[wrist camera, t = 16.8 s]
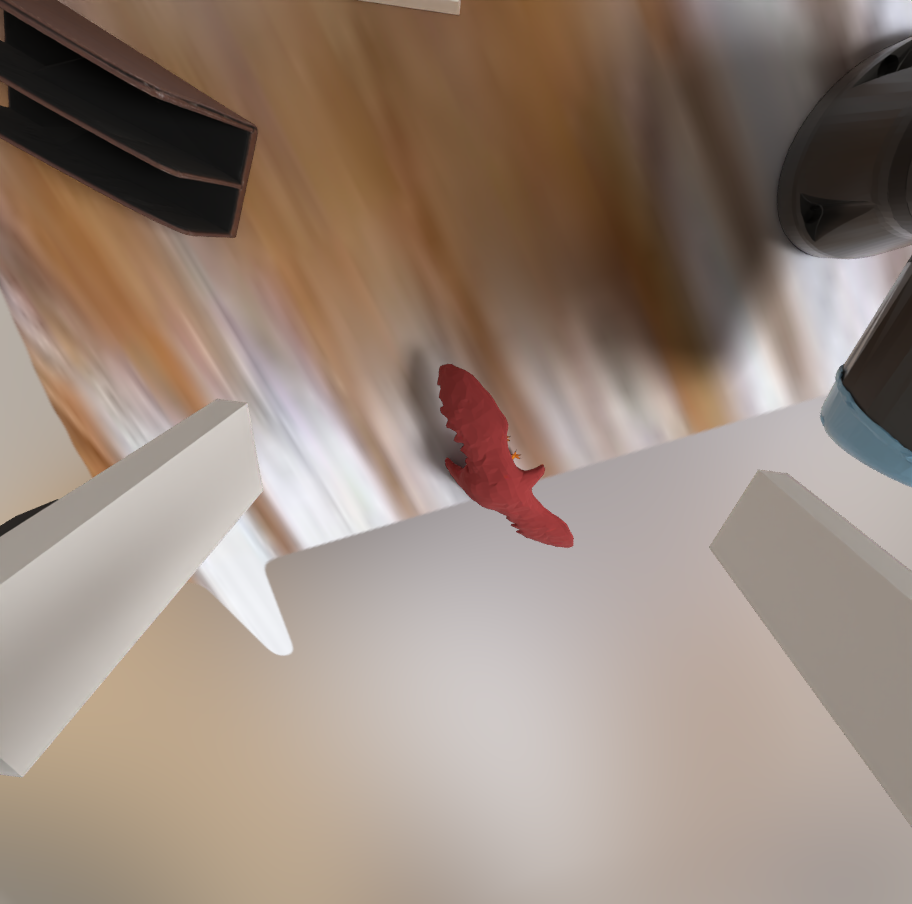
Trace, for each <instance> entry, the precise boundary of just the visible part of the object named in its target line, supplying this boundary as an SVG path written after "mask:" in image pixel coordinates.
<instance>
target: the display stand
mask: <svg viewBox="0 0 912 904" xmlns="http://www.w3.org/2000/svg"><path fill="white" fill-rule="evenodd" d="M360 1H367V2H374V3H381V4H387V5H394V6H401V7H407V8H414V9H421V10H428V11H434V12H441V13H448V14H454V15H459V13H460V1H461V0H360Z"/></svg>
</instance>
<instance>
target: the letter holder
mask: <svg viewBox="0 0 912 904" xmlns="http://www.w3.org/2000/svg"><path fill="white" fill-rule="evenodd" d="M0 8H2V9H4V28H5V42H3V41H1V40H0V81H1V82H3V83H5V84H7V85H8V97H9V107H8V108H7V107H3V106H0V138H1V139H3V140H5V141H7V142H8V143H10V144H12V145H13V146H15V147H17V148H19V149H21V150H23V151H25V152H26V153H28V154H30V155H32V156H34V157H36V158H37V159H39V160H41V161H43V162H45V163H46V164H48V165H50V166H52V167H54V168H56V169H57V170H59V171H61V172H63V173H65V174H67V175H69V176H70V177H72V178H74V179H76V180H78V181H79V182H81V183H83V184H85V185H87V186H89V187H91V188H92V189H94V190H96V191H98V192H100V193H102V194H104V195H106V196H107V197H109V198H111V199H113V200H115V201H117V202H119V203H120V204H122V205H124V206H126V207H128V208H130V209H132V210H134V211H136V212H138V213H140V214H142V215H144V216H146V217H148V218H150V219H152V220H154V221H156V222H158V223H160V224H162V225H165V226H167V227H169V228H171V229H173V230H175V231H178V232H180V233H183V234H186V235H191V236H206V237H230V238H235V237H236V232H237V228H238V223H239V219H240V214H241V209H242V205H243V200H244V196H245V191H246V186H247V181H248V177H249V172H250V168H251V163H252V159H253V154H254V149H255V144H256V139H257V127H256V126H255V125H254V124H252V123H251V122H249V121H248V120H246V119H244V118H242V117H241V116H239V115H237V114H236V113H234V112H233V111H231V110H229V109H228V108H226V107H225V106H223V105H221V104H220V103H218V102H217V101H215V100H214V99H212V98H210V97H209V96H207V95H206V94H204V93H202V92H201V91H199V90H198V89H196V88H195V87H193V86H191V85H190V84H188V83H187V82H185V81H184V80H182V79H180V78H179V77H177V76H176V75H174V74H173V73H171V72H169V71H168V70H166V69H165V68H163V67H162V66H160V65H158V64H157V63H155V62H154V61H152V60H151V59H149V58H147V57H146V56H144V55H143V54H141V53H139V52H138V51H136V50H135V49H133V48H131V47H130V46H128V45H127V44H125V43H123V42H122V41H120V40H119V39H117V38H116V37H114V36H112V35H111V34H109V33H108V32H106V31H105V30H103V29H101V28H100V27H98V26H97V25H95V24H93V23H92V22H90V21H89V20H87V19H86V18H84V17H82V16H81V15H79V14H78V13H76V12H75V11H73V10H71V9H70V8H68V7H67V6H65V5H64V4H62V3H60V2H59V1H57V0H0Z"/></svg>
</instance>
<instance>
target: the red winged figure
mask: <svg viewBox="0 0 912 904" xmlns="http://www.w3.org/2000/svg"><path fill="white" fill-rule="evenodd" d="M437 384H438V385H440V388H441V389H440V393H439V398H440V399H441V401H442V403H443V405H444V406H442V407H441V408H440V411H441V413H442V414H443V415H444V416H445V417H446V418H447V419H448V422H447V424H446V427H447V428H450V429H452V430H453V431H455V432H456V433H457V434H456V436H455V438H454V441H455V442H457V443H463V444H464V446H462V448H461V450H460V451H461V452H463V453H464V454H465V455H466V456H467V457H468V458H466V460H465V462H466V464H467V465H466V466H465V467H464V468H462V467H460V466H458V465H456V464H455V463H453V462H452V461H451V460H450V459H449V458H446V459H445V465H446V467H447V469H448V470H449V472H450V474H451V475H452V477H453V478H454V479H455V481H456V482H457V484H458V485H459V486H460V487H461V488H462V489H463V490H464V491H465V492H466V494H467V495H468V496H469V497H470V498H471V499H472V500H474V501H476V502H477V503H478V504H479V505H481V506H482V507H485V508H487V509H491V510H495V511H498V512H499V513H501V514H503V515H506V516H507V517H506V519H508V520H509V521H511V522H513V523H515V524H511V526H513V527H515V528H517V529H519V530H518V531H516V532H517V533H520V534H522V535H523V536H525V537H526V538H530V539H533V540H535V541H539V542H541V543H544V544H547V545H553V546H555V547H565V548H569V547H572V546H573V539H574V538H573V535H572V534H571V532H570V530H569V528H568V526H567V524H566V523H565V522H564V521H562V520H561V519H560V518H559V517H557V516H556V515H554V514H552V513H551V512H550V511H548V510H547V509H546V508H544V507H543V506H542V504H541V503H540V502H539V501H538V500H537V499H536V498H535V497H534V495H533V493H532V487H533V486H534V485H535V484H536V483H537V482H538V480H539V479H540V478H541V477H542V476H543V474H544V471H545V468H544V465H540V466H538V467H537V468H534V469H531V470H526V471H524V470H521V469H520V468H518V467H516V465H515V463H514V461H513V459H514V458H518V459H520V458H519V457H518V456H520V455H518V454H516V451H515V453H514V455H513V454H510V451H509V449H508V443H507V441H510V440H509V439H507V438H509V437H508V436H507V431H508V422H507V420H506V418H505V416H504V415H503V414H502V412H501V411H500V410H499V408H498V406H497V404H496V403H495V401H494V399H493V398H492V396H491V395H490V394H489V392H487V391H486V390H485V389H484V388H483V386H482V385H481V384H480V382H479V381H478V380H477V379H476V378H475V377H474V376H473V375H472V374H470V373H469V372H467V371H466V370H463V369H461V368H458V367H456V366H454V365H452V364H446V365H442V366H440V368H439V377H438V382H437ZM516 450H517V449H516ZM511 455H512V456H511Z"/></svg>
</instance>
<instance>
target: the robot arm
mask: <svg viewBox="0 0 912 904" xmlns="http://www.w3.org/2000/svg"><path fill="white" fill-rule="evenodd" d="M777 203H778V214H779V219H780V222H781V226H782V228H783V230H784V232H785V234H786V236H787V237H788V239H789V240H790V241H791V242H792V243H793V244H794V245H795V246H796V247H797V248H799V249H800V250H802V251H803V252H805V253H808V254H810V255H813V256H817V257H823V258H836V259H857V258H865V257H870V256H875V255H878V254H882V253H885V252H889V251H892V250H895V249H899V248H902V247H906V246H909V245H912V37H910V38H908V39H906V40H903V41H901V42H899V43H897V44H894V45H892V46H890V47H888V48H885V49H883V50H881V51H880V52H878V53H876V54H874V55H873V56H871V57H869V58H868V59H866V60H865V61H863V62H862V63H860V64H859V65H857V66H856V67H855V68H853V69H852V70H851V71H850V72H849V73H847V74H846V75H845V76H844V77H843V78H842V79H840V80H839V81H838V82H837V83H836V84H835V85H834V86H833V87H832V88H831V89H830V90H829V91H828V92H827V94H826V95H825V96H824V97H823V98H822V99H821V100H820V102H819V103H818V104H817V105H816V106H815V108H814V109H813V110H812V112H811V113H810V114H809V116H808V117H807V119H806V120H805V122H804V123H803V125H802V127H801V128H800V130H799V132H798V134H797V135H796V137H795V139H794V141H793V143H792V145H791V147H790V150H789V152H788V154H787V157H786V160H785V162H784V165H783V169H782V172H781V176H780V181H779V187H778V200H777ZM835 379H836V381H835V383H834V385H833V387H832V389H831V391H830V393H829V394H828V396H827V398H826V400H825V402H824V404H823V406H822V408H821V413H820V414H821V415H820V417H821V421H822V424H823V426H824V428H825V431H826V433H827V434H828V435H829V437H830V438H831V439H832V440H833V441H834V442H835V443H836V444H837V445H838V446H840V447H841V448H842V449H843V450H844V451H846V452H847V453H848V454H850V455H851V456H853V457H854V458H856V459H857V460H859V461H860V462H862V463H864V464H865V465H867V466H869V467H870V468H872V469H874V470H876V471H878V472H880V473H881V474H883V475H886V476H887V477H889V478H891V479H894V480H896V481H898V482H900V483H902V484H905V485H907V486H909V487H912V256H911V258H910V259H909V261H908V262H907V264H906V265H905V267H904V269H903V270H902V272H901V273H900V275H899V277H898V278H897V280H896V282H895V283H894V285H893V286H892V288H891V290H890V291H889V293H888V294H887V296H886V298H885V299H884V301H883V303H882V304H881V306H880V307H879V309H878V311H877V312H876V314H875V316H874V317H873V319H872V320H871V322H870V324H869V325H868V327H867V328H866V330H865V332H864V333H863V335H862V337H861V338H860V340H859V341H858V343H857V345H856V346H855V348H854V349H853V351H852V353H851V354H850V356H849V358H848V359H847V361H846V362H845V364H843V365H842V366H840V368H839V369H838V371H837V373H836V377H835ZM262 491H263V486H262V481H261V475H260V469H259V464H258V458H257V453H256V447H255V442H254V436H253V431H252V425H251V420H250V414H249V409H248V403H245V402H237V401H229V400H222V399H216V400H215V401H213V402H212V403H210V404H208V405H207V406H205V407H204V408H202V409H201V410H199V411H197V412H196V413H194V414H193V415H191V416H190V417H188V418H186V419H185V420H183V421H182V422H180V423H178V424H177V425H175V426H174V427H172V428H171V429H169V430H167V431H166V432H164V433H163V434H161V435H160V436H158V437H156V438H155V439H153V440H152V441H150V442H149V443H147V444H145V445H144V446H142V447H141V448H139V449H138V450H136V451H134V452H133V453H131V454H130V455H128V456H127V457H125V458H123V459H122V460H120V461H119V462H117V463H116V464H114V465H112V466H111V467H109V468H108V469H106V470H105V471H103V472H101V473H100V474H98V475H97V476H95V477H94V478H92V479H90V480H89V481H87V482H86V483H84V484H83V485H81V486H79V487H78V488H76V489H75V490H73V491H72V492H70V493H68V494H67V495H65V496H64V497H62V498H61V499H59V500H58V499H57V500H54V501H52V502H49V503H47V504H45V505H42V506H40V507H37V508H35V509H32V510H30V511H27V512H25V513H23V514H20V515H18V516H15V517H14V518H12V519H11V520H9V521H7V522H6V523H4V524H2V525H1V526H0V775H7V776H15V777H23V776H24V775H25V774H26V773H27V772H28V770H29V769H30V768H31V767H32V766H33V764H34V763H35V762H36V761H37V760H38V758H39V757H40V756H41V755H42V754H43V752H44V751H45V750H46V749H47V748H48V746H49V745H50V744H51V743H52V742H53V741H54V739H55V738H56V737H57V736H58V734H59V733H60V732H61V731H62V730H63V729H64V727H65V726H66V725H67V724H68V723H69V721H70V720H71V719H72V718H73V717H74V716H75V714H76V713H77V712H78V711H79V710H80V708H81V707H82V706H83V705H84V704H85V702H86V701H87V700H88V699H89V698H90V696H91V695H92V694H93V693H94V692H95V690H96V689H97V688H98V687H99V685H100V684H101V683H102V682H103V681H104V680H105V679H106V677H107V676H108V675H109V674H110V672H111V671H112V670H113V669H114V668H115V667H116V665H117V664H118V663H119V662H120V661H121V659H122V658H123V657H124V656H125V655H126V654H127V652H128V651H129V650H130V649H131V648H132V646H133V645H134V644H135V643H136V641H137V640H138V639H139V638H140V637H141V636H142V634H143V633H144V632H145V631H146V630H147V628H148V627H149V626H150V625H151V624H152V622H153V621H154V620H155V619H156V618H157V616H158V615H159V614H160V613H161V612H162V611H163V609H164V608H165V607H166V606H167V605H168V603H169V602H170V601H171V600H172V599H173V597H174V596H175V595H176V594H177V593H178V591H179V590H180V589H181V588H182V587H183V586H184V584H185V583H186V582H187V581H188V580H189V578H190V577H191V576H192V575H193V574H194V572H195V571H196V570H197V569H198V568H199V566H200V565H201V564H202V563H203V562H204V560H205V559H206V558H207V557H208V556H209V555H210V553H211V552H212V551H213V550H214V549H215V547H216V546H217V545H218V544H219V543H220V541H221V540H222V539H223V538H224V537H225V535H226V534H227V533H228V532H229V531H230V529H231V528H232V527H233V526H234V525H235V524H236V522H237V521H238V520H239V519H240V518H241V516H242V515H243V514H244V513H245V512H246V510H247V509H248V508H249V507H250V506H251V504H252V503H253V502H254V501H255V500H256V498H257V497H258V496H259V495H260V494H261V493H262ZM709 548H710V550H711V551H712V552H713V554H714V555H715V556H716V558H717V559H718V561H719V562H720V563H721V565H722V566H723V568H724V569H725V570H726V572H727V573H728V574H729V576H730V577H731V579H732V580H733V581H734V583H735V584H736V585H737V587H738V588H739V590H740V591H741V592H742V594H743V595H744V597H745V598H746V599H747V601H748V602H749V603H750V605H751V606H752V608H753V609H754V610H755V612H756V613H757V614H758V616H759V617H760V618H761V620H762V621H763V623H764V624H765V626H766V627H767V628H768V630H769V631H770V632H771V634H772V635H773V636H774V638H775V639H776V641H777V642H778V643H779V645H780V646H781V648H782V649H783V650H784V651H785V653H786V654H787V656H788V657H789V659H790V660H791V661H792V663H793V664H794V666H795V667H796V668H797V670H798V671H799V672H800V674H801V675H802V676H803V678H804V679H805V681H806V682H807V683H808V685H809V686H810V688H811V689H812V690H813V692H814V693H815V695H816V696H817V697H818V698H819V700H820V701H821V703H822V704H823V706H824V707H825V708H826V710H827V711H828V712H829V714H830V715H831V717H832V718H833V719H834V721H835V722H836V723H837V725H838V726H839V728H840V729H841V730H842V732H843V733H844V735H845V736H846V737H847V739H848V740H849V741H850V743H851V744H852V746H853V747H854V748H855V750H856V751H857V752H858V754H859V755H860V757H861V758H862V759H863V761H864V762H865V764H866V765H867V766H868V767H869V769H870V770H871V771H872V773H873V775H874V776H875V777H876V779H877V780H878V781H879V783H880V784H881V786H882V787H883V788H884V790H885V791H886V793H887V794H888V795H889V797H890V798H891V799H892V801H893V802H894V804H895V805H896V806H897V808H898V809H899V810H900V812H901V813H902V815H903V816H904V817H905V819H906V820H907V821H908V823H909V824H910V826H911V827H912V571H911V570H910V569H909V568H907V567H906V566H905V565H903V564H902V563H901V562H900V561H898V560H897V559H896V558H895V557H893V556H892V555H891V554H889V553H888V552H887V551H886V550H884V549H883V548H881V546H879V545H878V544H877V543H876V542H874V541H873V540H872V539H870V538H869V537H868V536H867V535H865V534H864V533H863V532H862V531H860V530H859V529H858V528H856V527H855V526H854V525H853V524H851V523H850V522H849V521H848V520H846V519H845V518H844V517H842V516H841V515H840V514H839V513H837V512H836V511H835V510H834V509H832V508H831V507H830V506H828V505H827V504H826V503H825V502H823V501H822V500H821V499H819V498H818V497H817V496H816V495H814V494H813V493H812V492H811V491H809V490H808V489H807V488H806V487H804V486H803V485H802V484H800V483H799V482H798V481H797V480H795V479H794V478H793V477H792V476H790V475H789V474H788V473H780V472H773V471H765V470H758V471H757V473H756V474H755V476H754V478H753V479H752V481H751V482H750V484H749V485H748V487H747V488H746V490H745V492H744V493H743V495H742V496H741V498H740V499H739V501H738V502H737V504H736V506H735V507H734V509H733V510H732V512H731V513H730V515H729V517H728V518H727V520H726V521H725V523H724V524H723V526H722V528H721V529H720V531H719V533H718V534H717V536H716V537H715V539H714V540H713V542H712V543H711V545H710V546H709Z"/></svg>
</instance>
